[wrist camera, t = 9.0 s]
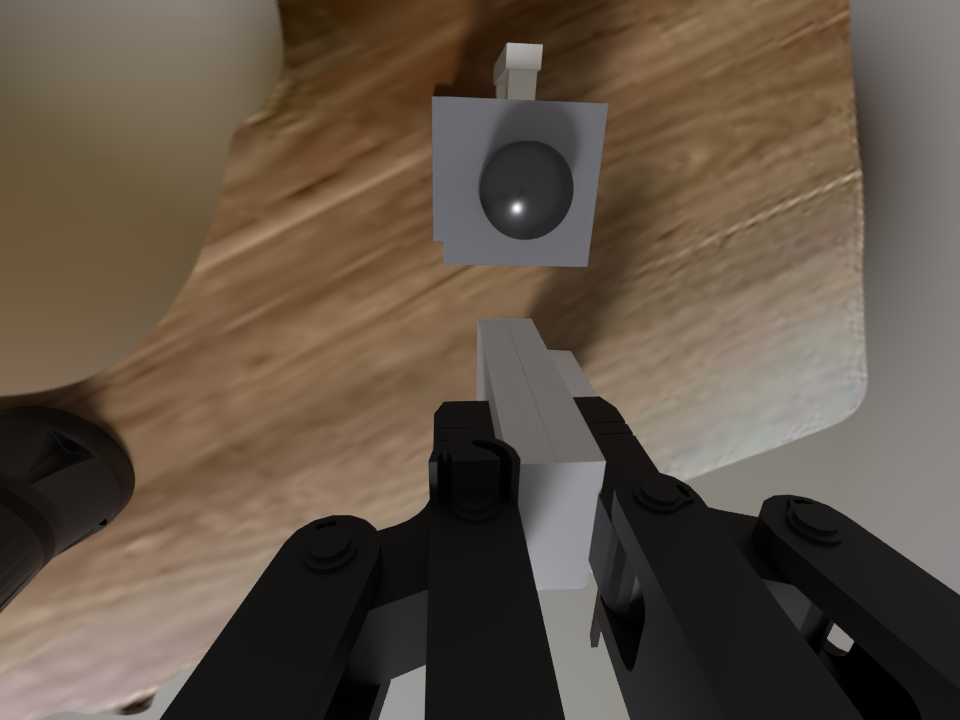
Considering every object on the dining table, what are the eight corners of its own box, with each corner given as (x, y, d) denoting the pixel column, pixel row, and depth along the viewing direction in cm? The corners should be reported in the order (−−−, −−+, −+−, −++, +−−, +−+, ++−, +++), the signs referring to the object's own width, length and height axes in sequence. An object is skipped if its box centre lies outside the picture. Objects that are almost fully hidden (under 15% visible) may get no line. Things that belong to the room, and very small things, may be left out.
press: (433, 239, 42) (426, 280, 29) (432, 69, 36) (423, 30, 24) (555, 241, 42) (600, 282, 30) (572, 76, 37) (635, 41, 24)
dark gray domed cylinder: (464, 213, 38) (471, 246, 26) (465, 134, 36) (474, 129, 24) (534, 214, 39) (574, 248, 26) (540, 137, 36) (587, 134, 24)
